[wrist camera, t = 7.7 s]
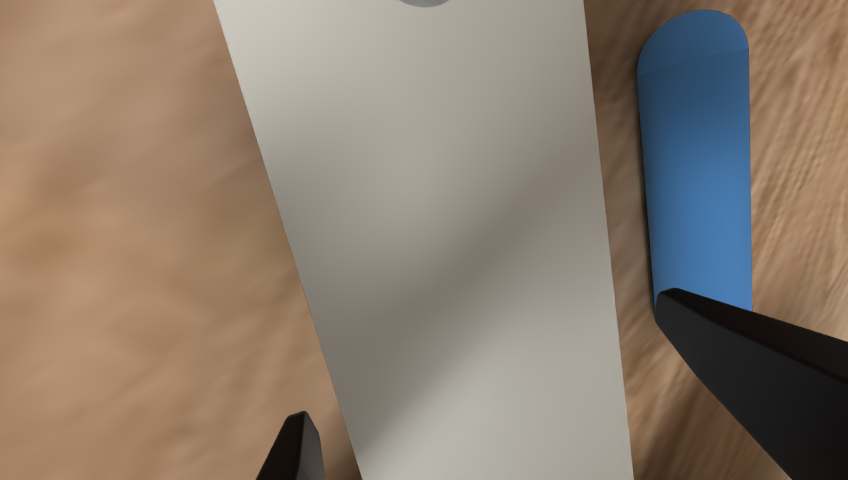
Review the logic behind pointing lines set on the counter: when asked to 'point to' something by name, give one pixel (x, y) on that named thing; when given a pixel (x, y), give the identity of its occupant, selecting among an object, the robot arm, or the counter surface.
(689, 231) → the blue pill shape
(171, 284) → the counter surface
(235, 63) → the duct lid
